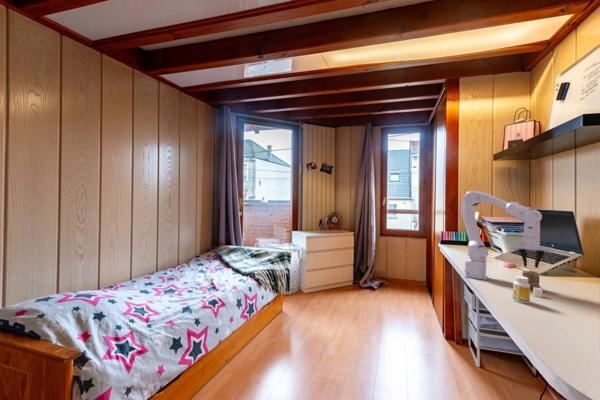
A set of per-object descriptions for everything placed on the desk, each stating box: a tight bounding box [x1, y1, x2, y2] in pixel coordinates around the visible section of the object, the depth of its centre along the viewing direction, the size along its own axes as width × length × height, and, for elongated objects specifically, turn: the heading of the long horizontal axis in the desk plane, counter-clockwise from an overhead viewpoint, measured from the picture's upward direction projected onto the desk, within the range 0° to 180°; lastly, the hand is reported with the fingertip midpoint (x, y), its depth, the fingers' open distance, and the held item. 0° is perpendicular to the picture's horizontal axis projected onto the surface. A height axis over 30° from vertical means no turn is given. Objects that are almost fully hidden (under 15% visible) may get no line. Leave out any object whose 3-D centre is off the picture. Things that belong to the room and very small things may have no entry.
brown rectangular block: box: [521, 269, 540, 289], centre depth 127 cm, size 5×5×7 cm
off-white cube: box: [532, 287, 544, 298], centre depth 118 cm, size 3×3×3 cm
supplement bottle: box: [512, 275, 531, 304], centre depth 113 cm, size 5×5×10 cm
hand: (530, 266), depth 127 cm, fingers open, 3 cm apart
